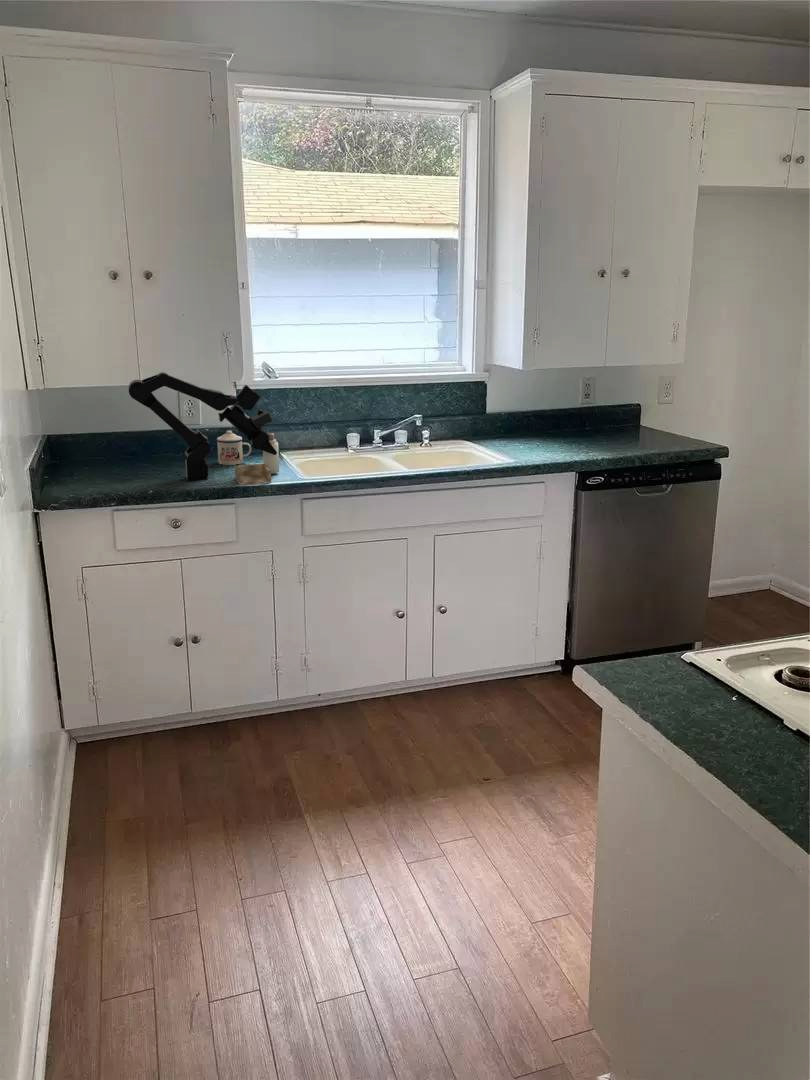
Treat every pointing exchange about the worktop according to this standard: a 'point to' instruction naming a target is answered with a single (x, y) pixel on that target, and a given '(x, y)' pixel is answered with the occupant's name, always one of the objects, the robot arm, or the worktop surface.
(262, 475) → the maple U-rest
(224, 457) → the teacup with lid
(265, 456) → the stoneware bottle
